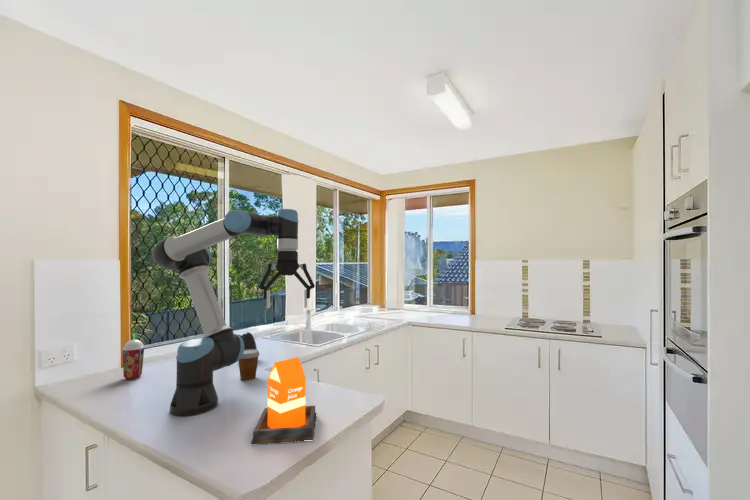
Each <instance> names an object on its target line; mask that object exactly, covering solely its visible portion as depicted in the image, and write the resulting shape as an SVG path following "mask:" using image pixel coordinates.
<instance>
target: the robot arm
mask: <svg viewBox="0 0 750 500" xmlns="http://www.w3.org/2000/svg"><path fill="white" fill-rule="evenodd" d="M298 233H299V214H298V211H297V210H295V209H292V208H281V209H278V210H277V214H276V215H262V214H257V213H253V212H248V211H244V210H242V209H232V210H228V212H227V213H226V214H225V215H224V218H221V219H219V220H216V221H213V222H211V223H208V224H206V225H204V226H201V227H199V228H197V229H194V230H192V231H189V232H187V233H184V234H181V235H179V236H169V237H167V238H164V239H162V240H160V241H158V242H157V243H156V244H155V245H154V247H153V248H152V253H151V256H152V261H154V263H155V264H156V265H157V266H158V267H159V268H161V269H163V270H167V271H177V274H178V277H179V278H180V279H182V280H183V281H185V283H186V286H187V290H188V293H189V295H190V298H191V300H192V303H193V306H194V309H195V312H196V315H197V318H198V321H199V323H200V327H201V329H202V332H203V336H202V337H198V338H192V339H189V340H186V341H184V342H182V343H181V344H180V345H179V346H178V348H177V353H176V387H175V390H174V393H173V396H172V399H171V402H170V405H169V413H170V414H171V415H173V416H177V417H178V416H179V417H186V416H187V417H189V416H194V415H195V416H196V415H201V414H205V413H207V412H210V411H211V410H213V409H214V408H216V407H218V404H219V403H218V402H219V401H218V400H219V397H218V394H217V391H216V388H215V385H214V372H215V371H219V370H221V369H224V368H226V367H230V366H232V365H233V364H235V363H238V362H239V360H240V359H241V357H242V355H243V353H244V342H243V339H242V338H241V337H240V336H238V335H239V334H236V333H234V330H233V328H232V327H230V326H229V325H227V324H226V320H225V318H224V315H223V312H222V310H221V306H220V304H219V302H218V298H217V296H216V293H215V290H214V288H213V285H212V283H211V280H210V276H209V275H208V272H209V271H210V265H211V260H212V253H211V251H210V249H209V247H213V246H215V245H218V244H220V243H222V242H226V241H227V240H230V239H232V238H235V237H238V236H241V235H243V234H249V235H251V236H254V237H264V236H265V237H268V236H276V237H277V241H276V245H277V246H276V248H277V249H276V250H278V251H277V252H276V263H275V264H273V263H268V265H267V270H266V272H265V274H264V275H263V278H262V280H261V282H259V285H258V289H261V290H263V299H264V300H266V309H271V289H270V288H271V286H272V285H273V284H274V283H275V282H276V281H277V279H278V278H279V277H280V276H282V277H283V276H284V277H285V276H290V277H292V276H293V275H294V276H295V277H296V279H297V280H298V281H299V283H300V284H302V286H303V287H304V288H305V289H304V290H303V291H304V295H303V296H304V299H303V302H304V303H303V304H304V309H306V308H308V299H310V298H311V290H312V289H315V287H316V285H315V283H314V280H313V278H312V277H311V275H310V272H309V270H308V269H307V268H308V267H307V264H306V263H302V264H301V263H299V252H298V251H297V250H298V249H299V239H298V238H299V235H298ZM299 268H300V269H301V270H302V271H303V273H304V275H305V277H306V279H307V281H308V283H309V284H308V283H307V281H305V279H303V277H302V276H301V275H300V273H299V272H298V270H299ZM275 269H276V270H277V272H276V273H275V274H274V275H273V277H272V278H271V279H270V281H269V282H268V283H267V284H266V282H267V280H268V279H269V277H270V275H271V272H272V271H274V270H275Z"/></svg>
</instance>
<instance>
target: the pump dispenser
mask: <svg viewBox="0 0 750 500" xmlns="http://www.w3.org/2000/svg"><path fill="white" fill-rule="evenodd" d="M237 335H238V336H240V337H241V338H242V339H243V342H244V350H247V349H256V350H258V349H257V348H258V347H257V344H256V339H255V337H254V335H253V334H252V332H249V331H246V332H244V333H242V335H241V334H237Z"/></svg>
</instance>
